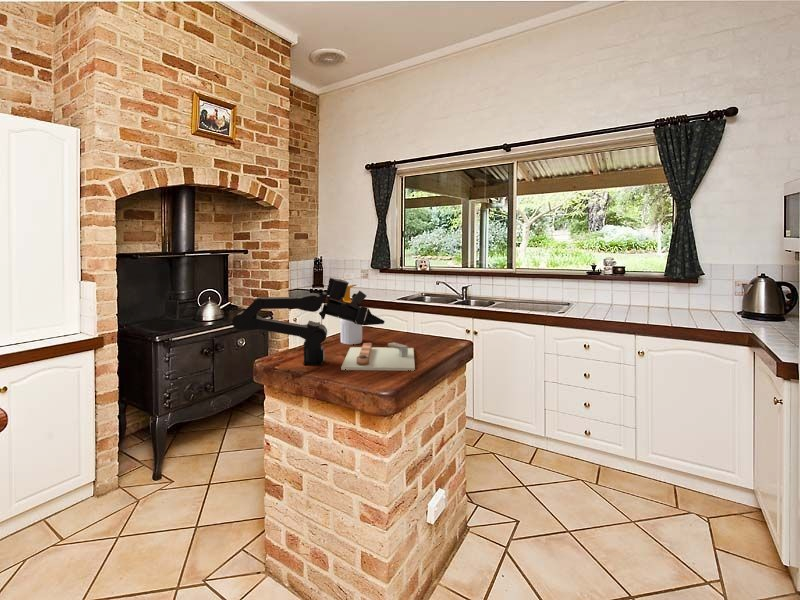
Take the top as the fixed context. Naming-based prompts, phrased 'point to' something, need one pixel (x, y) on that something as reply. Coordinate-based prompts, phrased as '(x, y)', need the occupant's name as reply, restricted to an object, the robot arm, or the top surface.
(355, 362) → the base board
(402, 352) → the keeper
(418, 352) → the top surface
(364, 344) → the link
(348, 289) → the soap bottle
